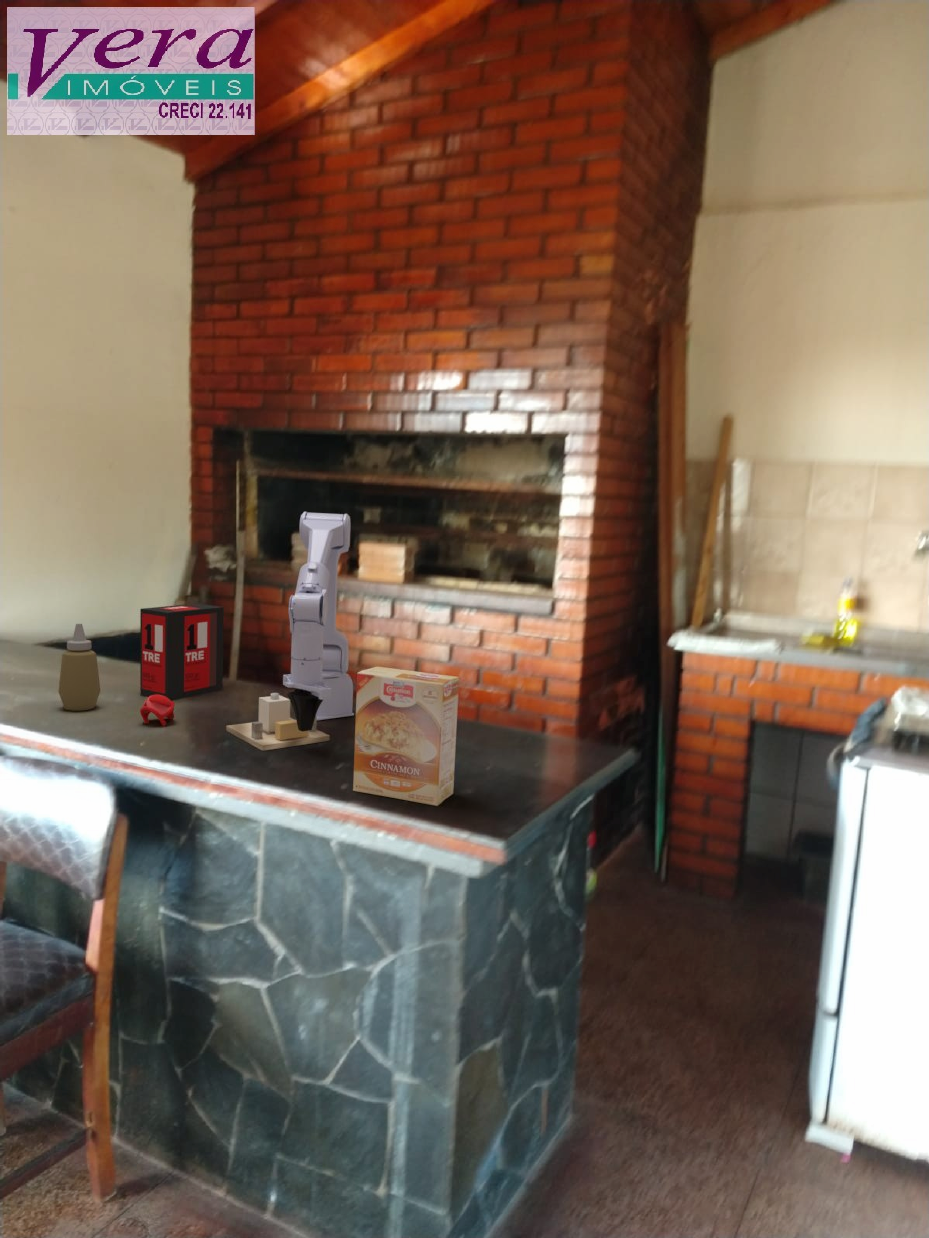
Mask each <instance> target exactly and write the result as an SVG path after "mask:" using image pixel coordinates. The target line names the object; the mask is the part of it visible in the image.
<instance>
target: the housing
mask: <svg viewBox="0 0 929 1238" xmlns="http://www.w3.org/2000/svg"><path fill="white" fill-rule="evenodd" d="M290 718H291V701H290V699H289V698H288V697H284V696H283V695H280V693H278V692H272V693H270V696H261V697H258V721H260V722H262V723H263V730H264V731H266V732H268V733H269V732H275V722H281V721H289V720H290Z"/></svg>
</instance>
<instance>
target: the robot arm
mask: <svg viewBox="0 0 929 1238" xmlns="http://www.w3.org/2000/svg"><path fill="white" fill-rule="evenodd" d="M299 539H300V541H301V543H302V546H304V548H305V550H306V551H307V561H306V563H305V564H303V565H301V567H300V569H299V572H298V578H297V583H296V586H295V587H296V588H295V592H294V595H293V594H291V595H290V597H289V602H288V617H289V633H290V634H291V645H290V647H291V649H290V650H291V651H290V673H289V674H283V675H282V685H283V686H285V688H286V687H287V688H294V689H293V691H289V692H287V693H286V694H287V699H289V700H290V704H291V705H292V709H293V712H294V715H295V716H294V717H295V720H296V721H297V725H298V729H299V730H300V731H310V730H312V727H313V723H314V720H315V716H317V721H322V720H323V721H324V720H330V719H336V718H337V719H338V718H339V719H340V718H344V717H352V716H353V717H354V716H355V712H353V704H354V703H353V702H354V701H353V699H354V684H353V681H352V680H353V679H352V678H351V676H350V675H349V674H348V673H347V672H348V669H349V661H350V649H349V640H348V638H347V636H345V634H343V633H342V632H341V631H339V630H338V629H337V605H338V604H337V603H338V602H337V601H338V600H337V599H338V570H339V569H338V567H339V565H338V564H339V560H340V557H341V554H344V553H347V552H349V548H350V547H351V545H350V544H351V516H350V515H349V514H348V513H344V514H343V513H341V514H340V513H328V512H327V513H325V512H324V513H322V512H308V511H303V513H302V514H300V519H299Z"/></svg>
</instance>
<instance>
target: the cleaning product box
mask: <svg viewBox="0 0 929 1238" xmlns="http://www.w3.org/2000/svg"><path fill="white" fill-rule="evenodd" d="M224 608H225V607H224V606H218V605H210V604H203V603H189V604H178V605H167V606H157V607H145V608H143V607H142V608H140V616H139V617H140V620H139V621H140V627H139V628H140V629H139V630H140V631H139V632H140V633H139V635H140V636H139V637H140V642H139V643H140V645H139V646H140V650H139V651H140V653H139V654H140V655H139V656H140V658H139V659H140V661H139V664H140V665H139V666H140V667H139V668H140V669H139V670H140V679H139V681H140V682H139V683H140V687H139V688H140V690H139V691H140V696H141V697H145V698H148V697H149V696H151V695H163V696H165V697H167V698H168V699H170V700H171V701H172V702H174V701H178V700H180V699H187V698H191V697H195V696H200V695H205V694H209V693H215V692H221V691H223V689H224V688H223V684H224V683H223V682H224V681H223V680H224V679H223V678H224V677H223V676H224V673H223V669H224V668H223V667H224V613H225V612H224Z"/></svg>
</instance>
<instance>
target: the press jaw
mask: <svg viewBox="0 0 929 1238" xmlns="http://www.w3.org/2000/svg"><path fill="white" fill-rule="evenodd" d="M306 736H309V731H300V730H299V729H298V725H297V721H296V719H295V720H289V721H281V722H275V738H277V739H279V740H285V739H292V738H299V737H306Z"/></svg>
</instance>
